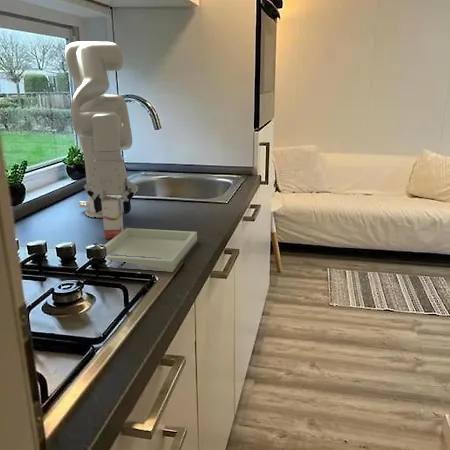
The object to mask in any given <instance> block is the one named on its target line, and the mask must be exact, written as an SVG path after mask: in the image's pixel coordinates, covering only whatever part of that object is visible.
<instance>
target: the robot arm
mask: <svg viewBox="0 0 450 450" xmlns="http://www.w3.org/2000/svg"><path fill="white" fill-rule="evenodd" d="M64 56H65V62H66V66H67V68H68V71H69V73H70V75H71V77H72V79H73V80H74V83H75V86H76V91H75V92H74V94H73V96H72V98H71V100H70V114H71V122H72V128H73V131H74V134H75V135H77V136H78V137H79V141H80V144H81V149H82V153H83V160H84V169H85V177H86V179H85V180H86V183H85V184H84V185H83V188H84V190H85V191H86V193H87V198H88V199H87V201H85V200H80V201H79V208H83V209H84V208H85V210H84V211H85V212H84V214H86V215H87V217H88V216H89V217H90V218H94V217H96V218H100V219H101V218H102V219H103V212H102V191H103V195H121V198H122V199H123V200H124V201H123V202H122V210H123V214H124V215H128V213H130V211H131V209H132V204H131V200H132V199H133V197H134V196H135V195H136V193H137V192H138V190H139V186H138V185H136V184H135V183H133V182H132V181H130V180H129V179H128V174H127V169H126V165H125V162H124V161H125V160H124V159H122V151H126V150H129V149H130V148H131V147H132V145H133V135H132V128H131V122H130V121H131V120H130V115H129V111H128V110H129V109H128V104H127V101H126V99H125V98H124V97H123V96H122V95H120V94H118V93H116V94H115V93H113V94H112V93H108V94H106V93H107V92H108V90H109V88H110V81H109V77H108V72H109V71H110V72H111V71H113V72H114V71H115V72H116V71H117V72H118V71H121V70H122V68H123V66H124V55H123V51H122V49H121V47H120V45H119V44H117V43H115V42H111V41H74V42H70V43H69V44H67V45H66V46H65V49H64ZM129 189H131V191H130V192H128V191H129ZM86 215H85V216H86ZM89 217H88V218H89Z"/></svg>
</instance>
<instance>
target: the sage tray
mask: <svg viewBox="0 0 450 450" xmlns="http://www.w3.org/2000/svg"><path fill="white" fill-rule="evenodd" d="M196 243H198V232H197V231H187V230H169V229H154V228H153V229H152V228H151V229H150V228H134V227H133V228H132V227H126V228H124V229H123V231H122V232H121V233H119V234H118V235H117V236H115V237H114V238H112V239H110V240H108V241H107V242H106V243H105V244H103V246H105V247H106V249H107V253H109V254H118V255H127V256H145V257H156V258H161V259H156V258H141V257H126V256H111V255H107V259H109V260H113V261H120V262H126V263H133V264H140V265H146V266H151V267H159V268H167V269H173V268H174V267H175V266H176V265H177V264H178V263H179V261H181V260H182V261H183V260H184V259H185V258H186V256H187V255H188V254H189V252H190V251H191V250H192V249H193V248H194V246H195V245H196Z"/></svg>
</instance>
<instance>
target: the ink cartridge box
mask: <svg viewBox="0 0 450 450" xmlns="http://www.w3.org/2000/svg"><path fill="white" fill-rule="evenodd" d="M122 201H123V200H122V196H121V195H103V191H102V212H103V218H102V221H103V233H104V239H107V240H109V238H110V240H111V238H112V239H113V238H114V237H115V236H117V235H118V234H119V233H121V232H122V231H123V230H124V220H123V219H124V217H123V202H122Z"/></svg>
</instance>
